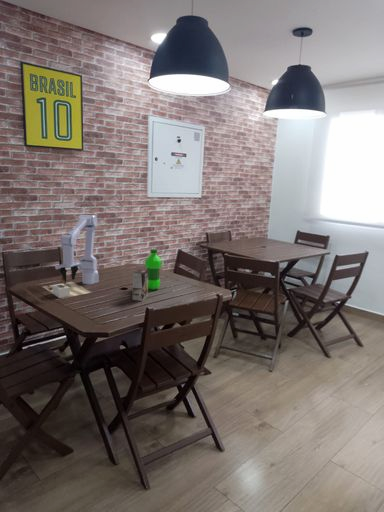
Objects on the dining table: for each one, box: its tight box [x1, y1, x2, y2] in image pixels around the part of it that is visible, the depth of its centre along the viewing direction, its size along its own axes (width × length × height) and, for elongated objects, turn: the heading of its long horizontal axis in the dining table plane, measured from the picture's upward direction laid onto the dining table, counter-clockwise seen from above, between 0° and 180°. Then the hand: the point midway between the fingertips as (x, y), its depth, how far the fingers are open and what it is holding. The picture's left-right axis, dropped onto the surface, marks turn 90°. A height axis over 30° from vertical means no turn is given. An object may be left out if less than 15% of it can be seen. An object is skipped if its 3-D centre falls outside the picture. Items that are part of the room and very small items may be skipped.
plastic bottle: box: [144, 248, 162, 291], centre depth 228 cm, size 10×10×25 cm
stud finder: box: [51, 283, 70, 299], centre depth 205 cm, size 6×9×6 cm, turn 42°
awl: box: [60, 274, 67, 284], centre depth 223 cm, size 3×3×6 cm
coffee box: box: [132, 268, 149, 302], centre depth 210 cm, size 9×6×16 cm
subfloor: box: [42, 281, 93, 299], centre depth 216 cm, size 19×26×1 cm
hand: (68, 279), depth 207 cm, fingers open, 4 cm apart
